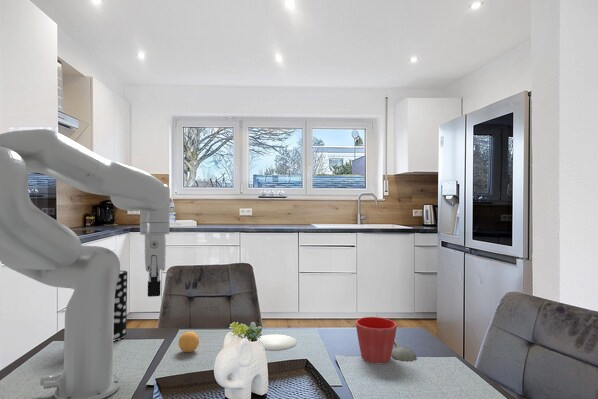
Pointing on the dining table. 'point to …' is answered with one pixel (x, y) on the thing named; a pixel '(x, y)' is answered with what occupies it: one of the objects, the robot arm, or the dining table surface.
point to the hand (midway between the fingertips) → (154, 295)
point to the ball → (188, 341)
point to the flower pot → (376, 338)
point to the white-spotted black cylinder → (120, 306)
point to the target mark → (277, 342)
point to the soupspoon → (403, 353)
